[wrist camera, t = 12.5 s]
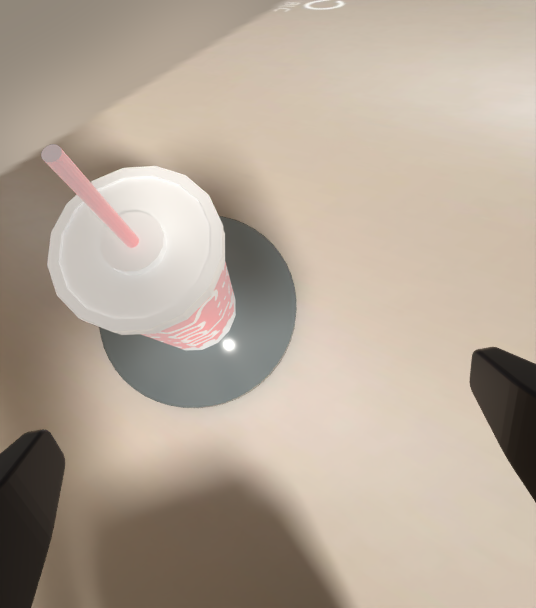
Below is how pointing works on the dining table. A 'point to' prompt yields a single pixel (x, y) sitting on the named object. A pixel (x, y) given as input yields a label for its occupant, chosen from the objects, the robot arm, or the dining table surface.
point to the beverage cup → (141, 255)
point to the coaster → (233, 346)
